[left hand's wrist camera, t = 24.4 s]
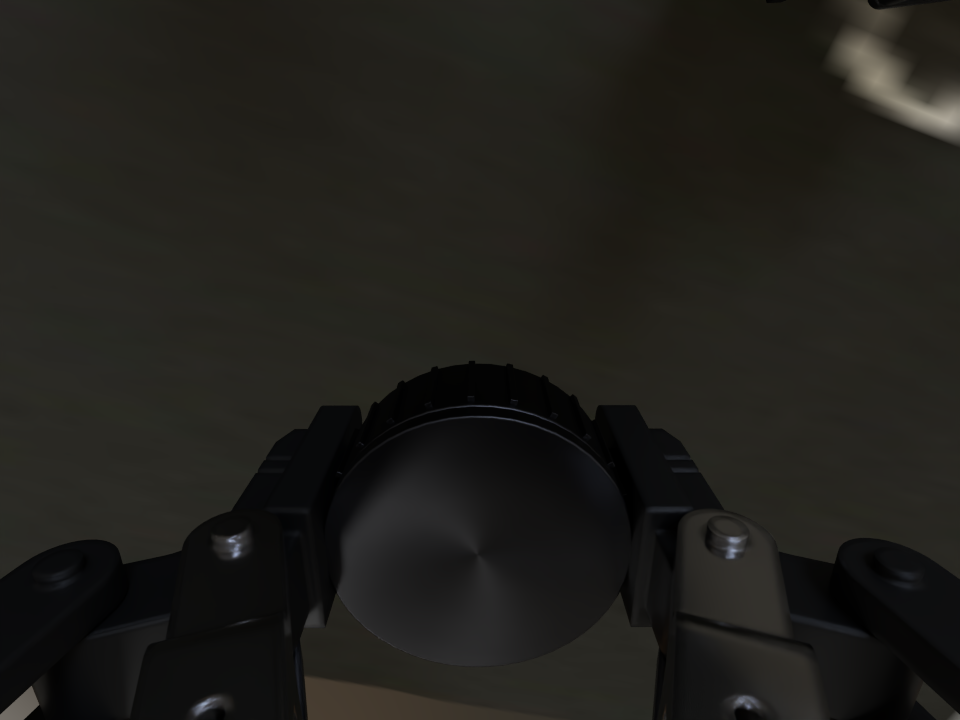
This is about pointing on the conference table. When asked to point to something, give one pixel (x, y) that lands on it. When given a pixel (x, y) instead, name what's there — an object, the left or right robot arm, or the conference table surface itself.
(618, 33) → the conference table surface
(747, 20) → the conference table surface
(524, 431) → the lid
